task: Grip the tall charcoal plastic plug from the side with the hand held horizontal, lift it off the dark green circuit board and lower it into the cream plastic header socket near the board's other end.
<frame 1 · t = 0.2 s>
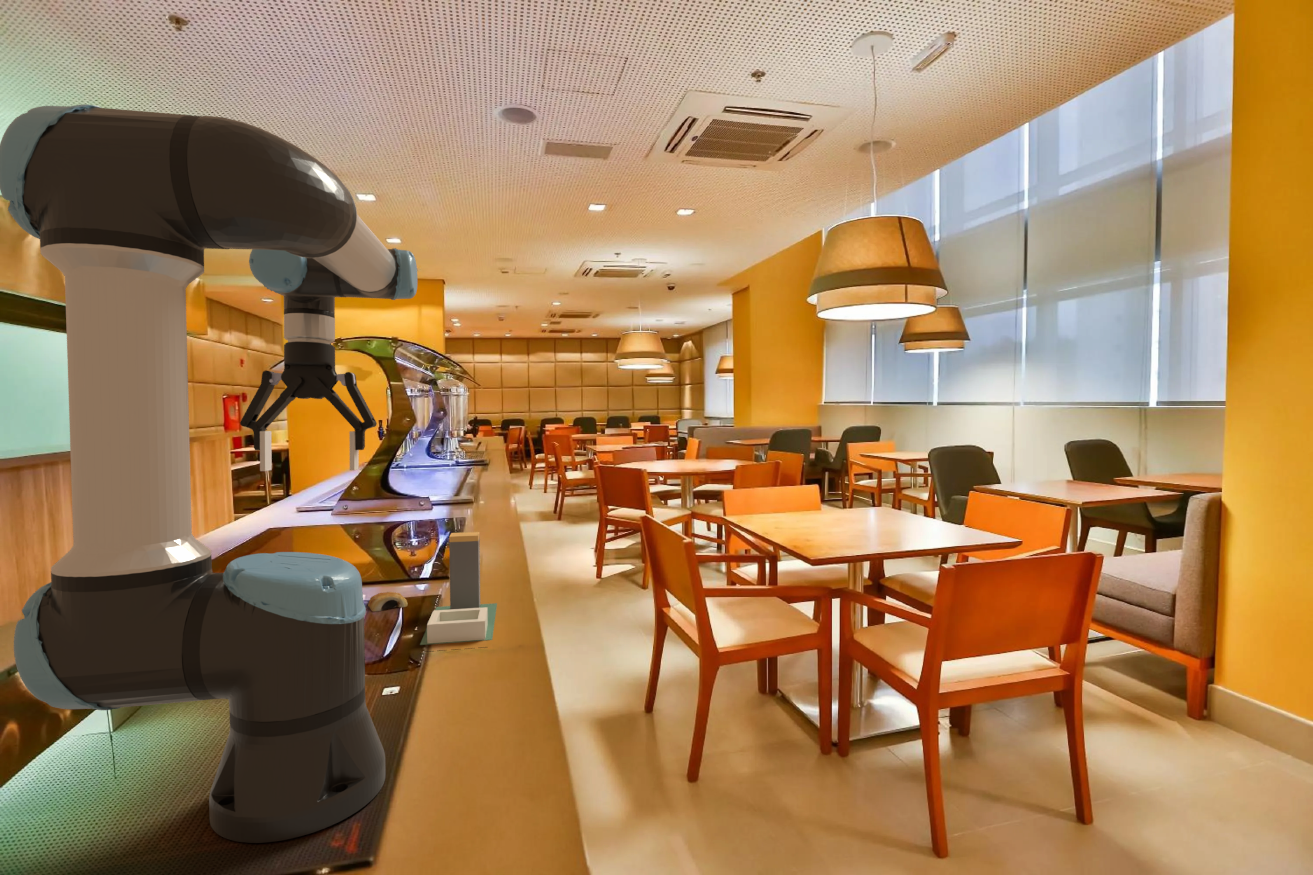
hand: (310, 470, 108), 28 cm above the counter, tool pointing down, fingers open, 13 cm apart
pastry: (386, 612, 123), on the counter
circuit board: (462, 628, 112), on the counter
plug: (465, 609, 119), point 1 cm above the counter, touching circuit board
header: (458, 640, 106), resting on circuit board
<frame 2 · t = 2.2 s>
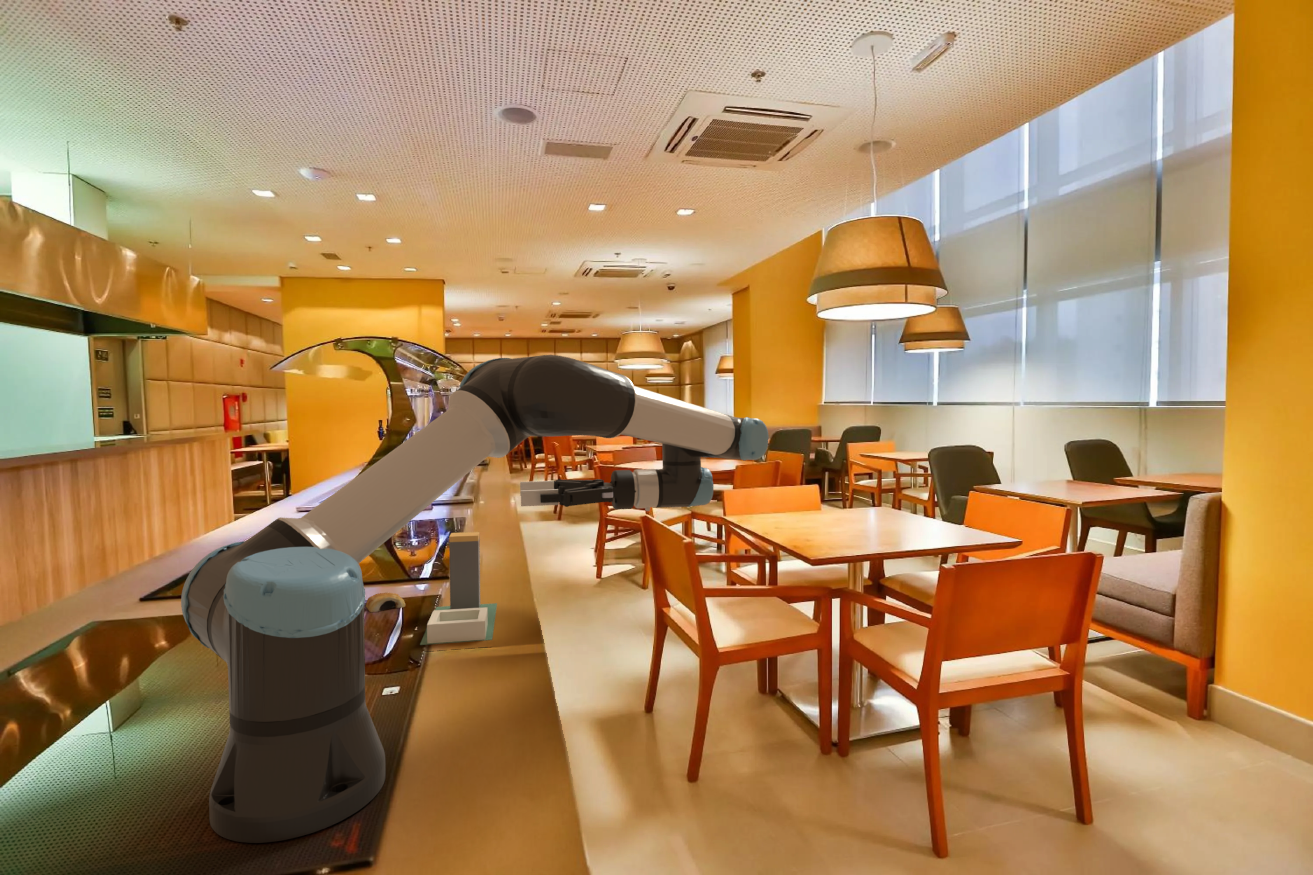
hand: (520, 493, 120), 22 cm above the counter, tool horizontal, fingers open, 13 cm apart
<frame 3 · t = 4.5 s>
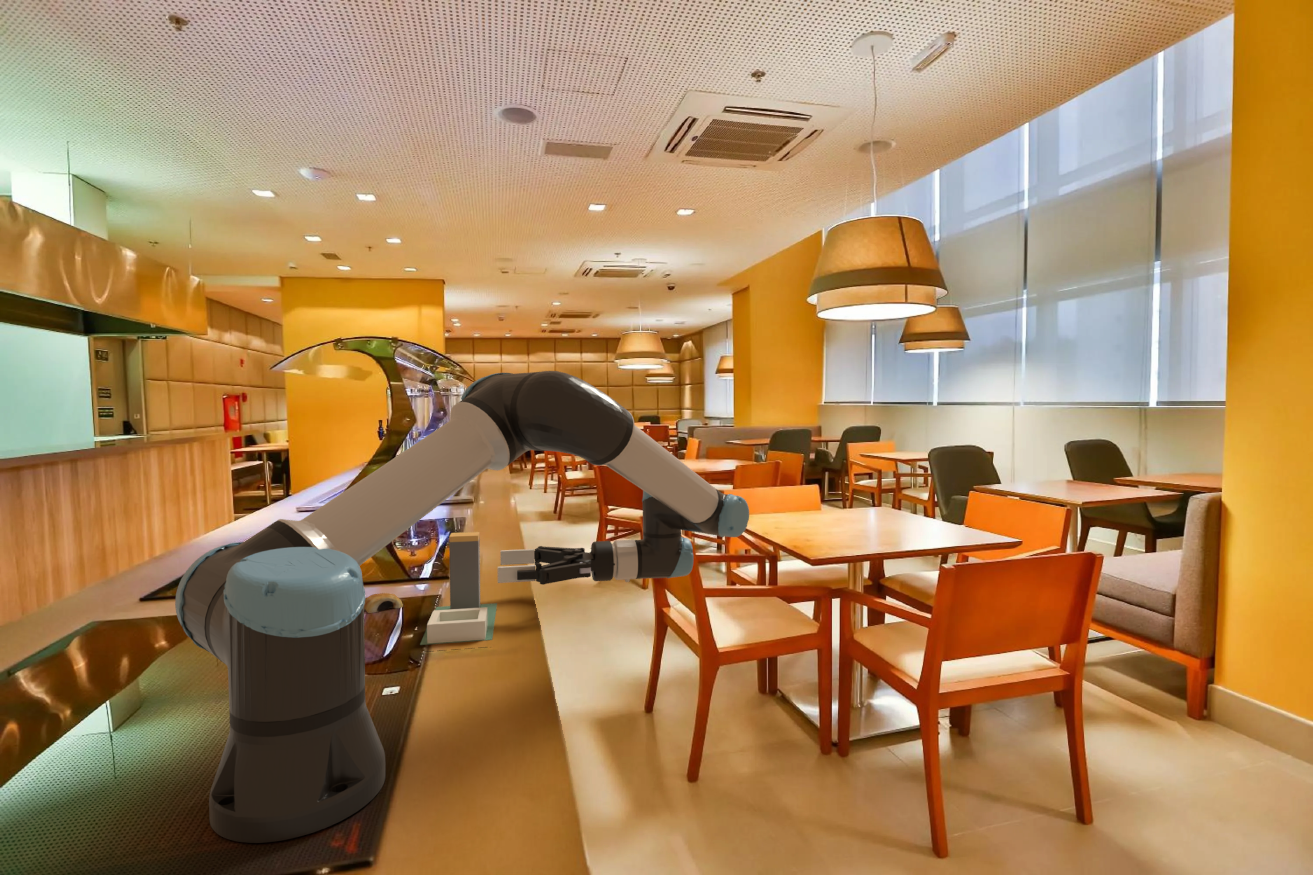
hand: (498, 565, 120), 9 cm above the counter, tool horizontal, fingers open, 13 cm apart
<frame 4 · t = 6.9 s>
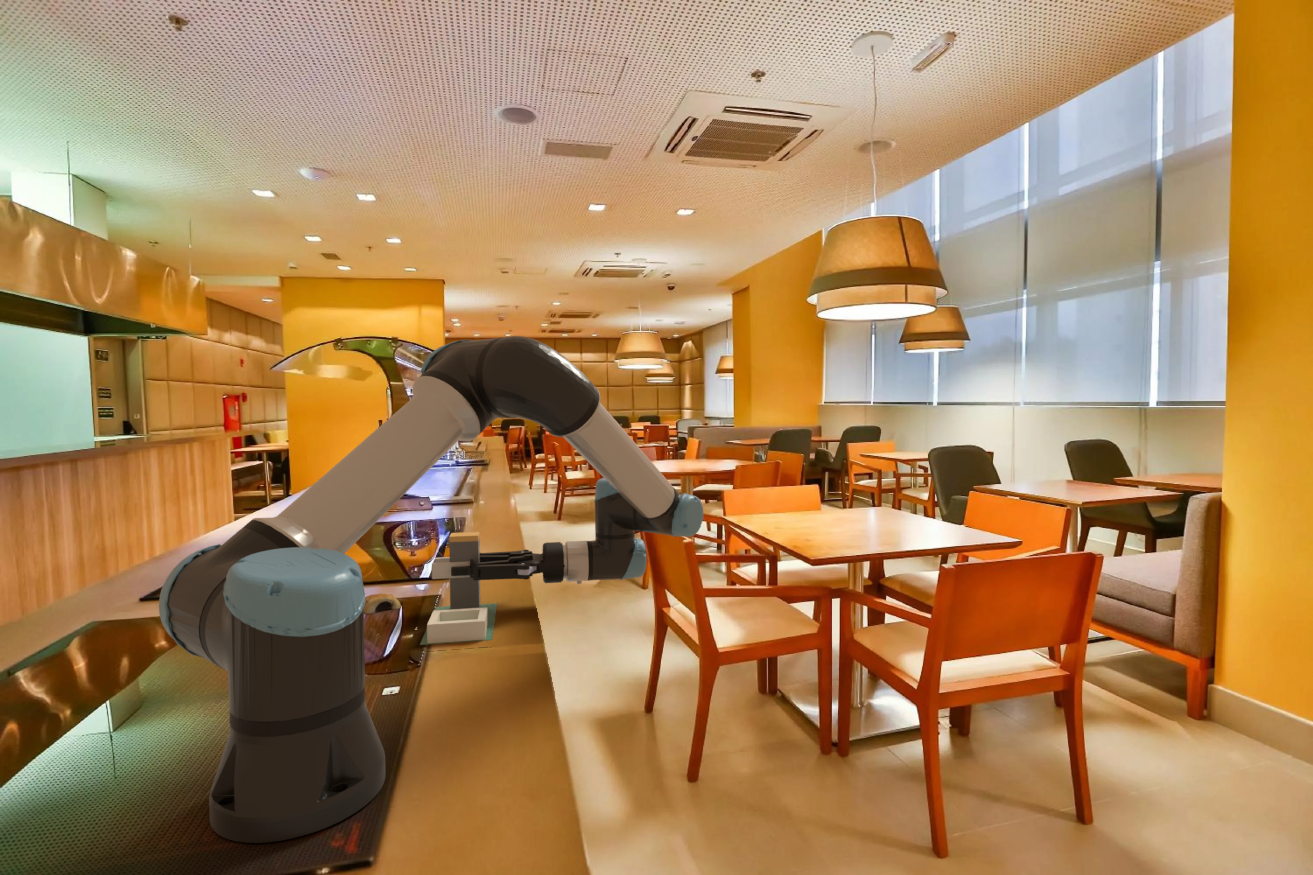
hand: (434, 568, 117), 9 cm above the counter, tool horizontal, fingers closed on plug, 4 cm apart
plug: (465, 609, 119), point 1 cm above the counter, touching circuit board, gripper
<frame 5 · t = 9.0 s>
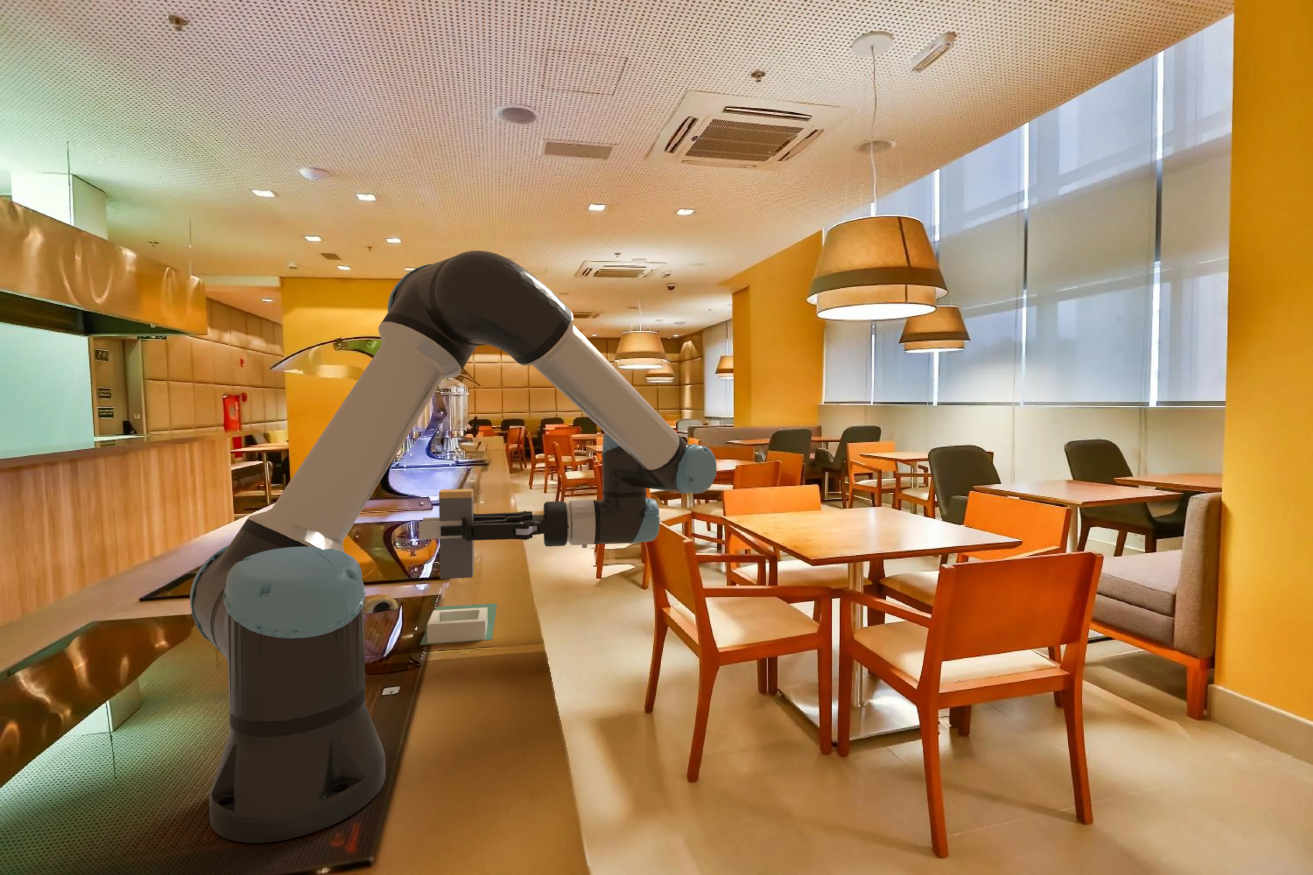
hand: (421, 528, 104), 19 cm above the counter, tool horizontal, fingers closed on plug, 4 cm apart
plug: (457, 575, 106), point 11 cm above the counter, touching gripper
when the fingers open (10 cm above the counter, at t = 11.3 s): plug stays where it is, resting on circuit board.
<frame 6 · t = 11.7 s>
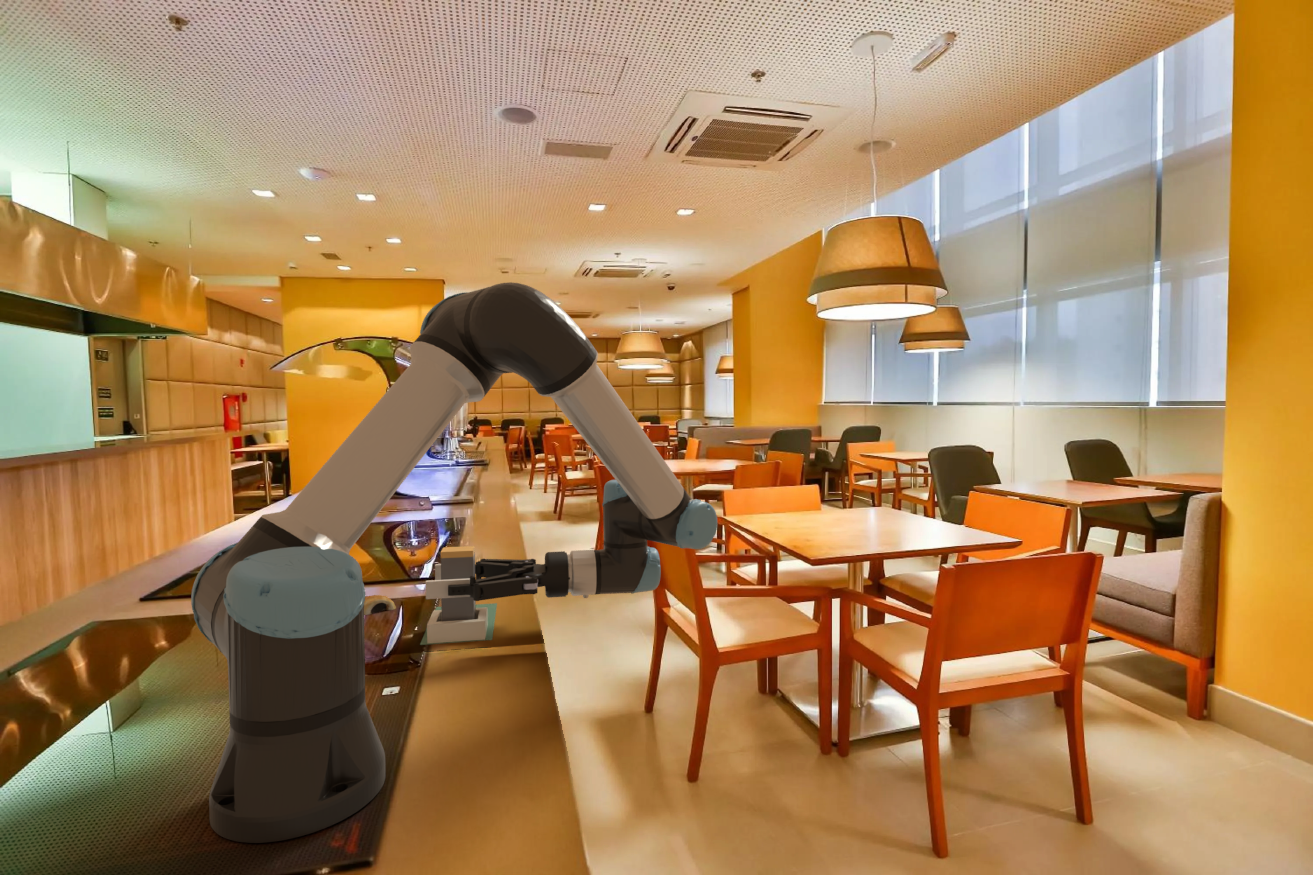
hand: (430, 580, 105), 10 cm above the counter, tool horizontal, fingers open, 10 cm apart
plug: (459, 633, 106), point 1 cm above the counter, touching circuit board
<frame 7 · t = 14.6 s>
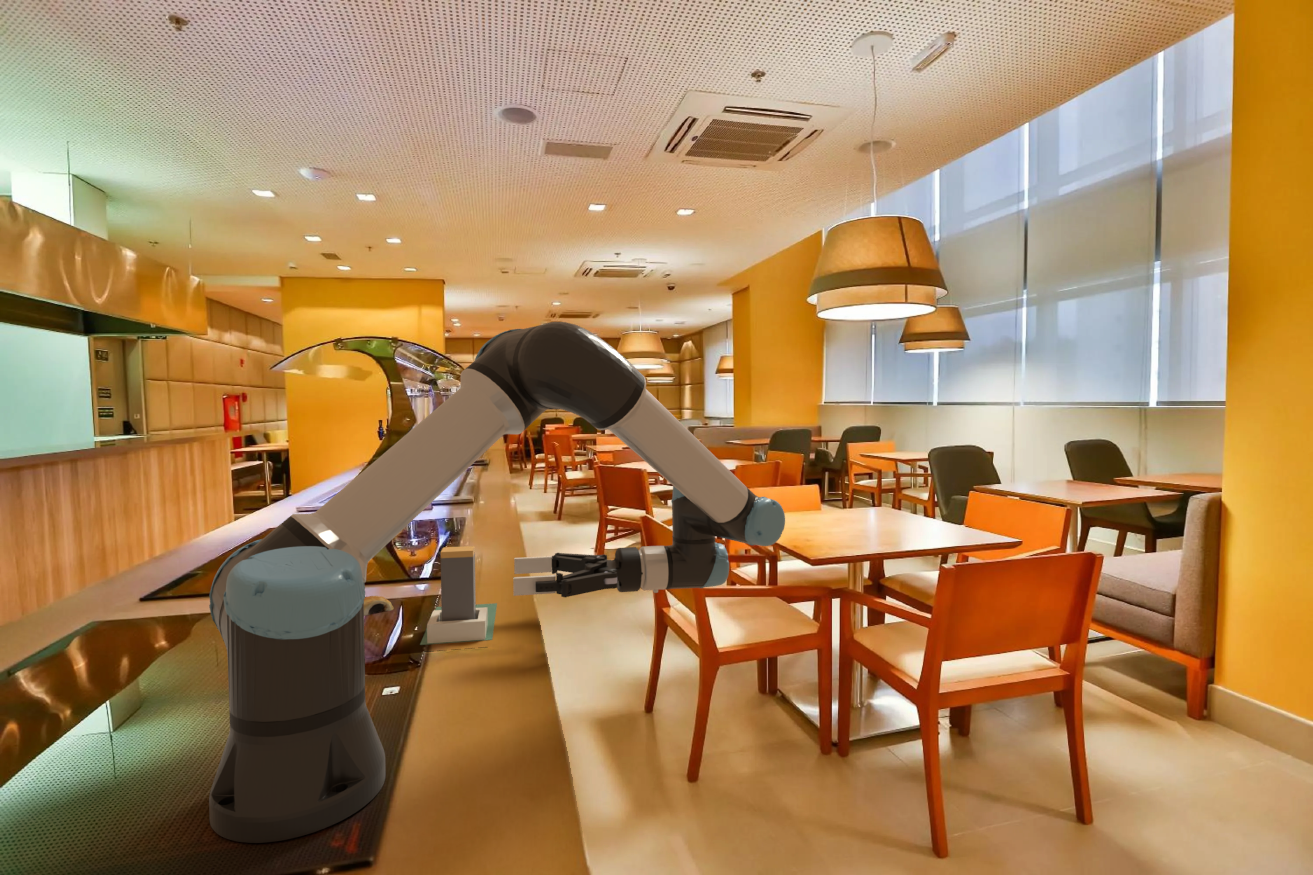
hand: (513, 575, 108), 10 cm above the counter, tool horizontal, fingers open, 13 cm apart
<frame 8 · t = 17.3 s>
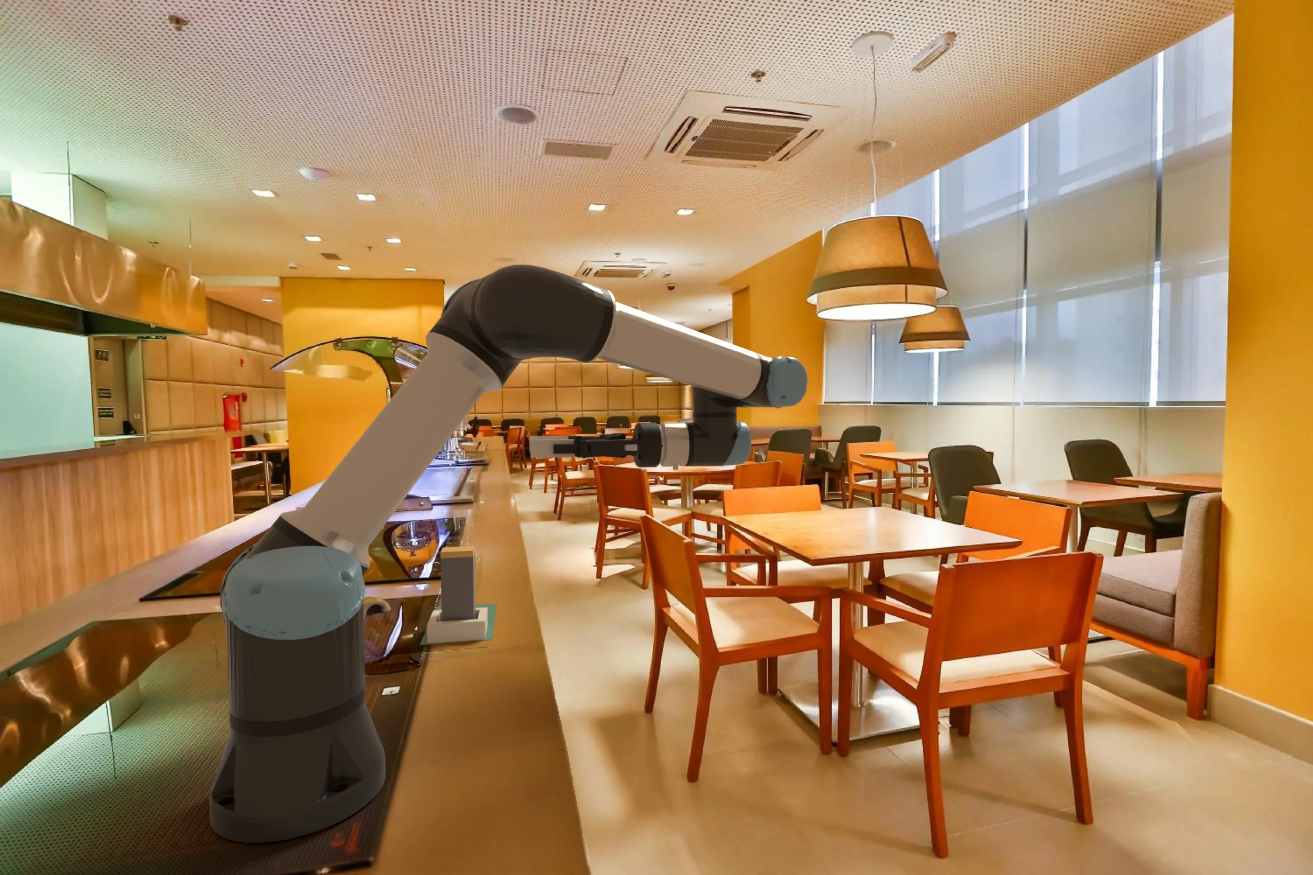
hand: (529, 446, 104), 32 cm above the counter, tool horizontal, fingers open, 13 cm apart
at the end: plug 0.1 cm off-centre on the header, point 1.2 cm above the header's base; plug tilted 0°; the gripper is holding nothing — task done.
